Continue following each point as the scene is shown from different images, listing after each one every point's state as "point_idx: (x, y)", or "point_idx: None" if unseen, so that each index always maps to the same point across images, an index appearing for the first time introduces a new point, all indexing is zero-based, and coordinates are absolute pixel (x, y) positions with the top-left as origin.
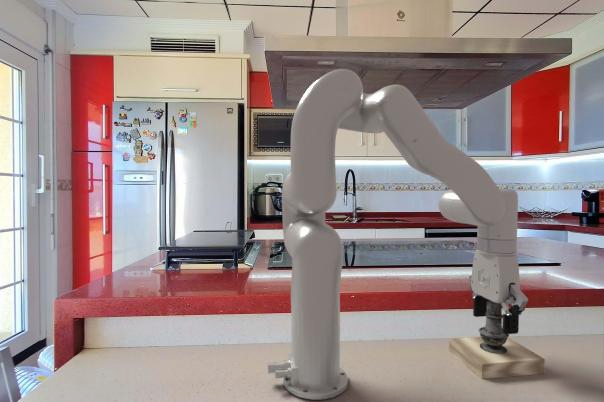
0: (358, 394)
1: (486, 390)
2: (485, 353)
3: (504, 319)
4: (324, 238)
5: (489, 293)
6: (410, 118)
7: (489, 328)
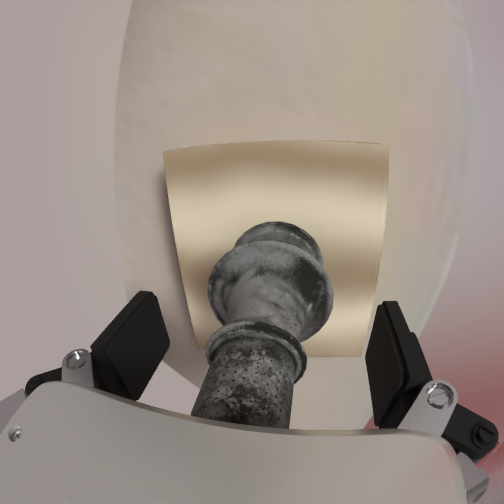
0: None
1: (135, 132)
2: (238, 210)
3: (104, 330)
4: None
5: (90, 445)
6: None
7: (247, 286)
